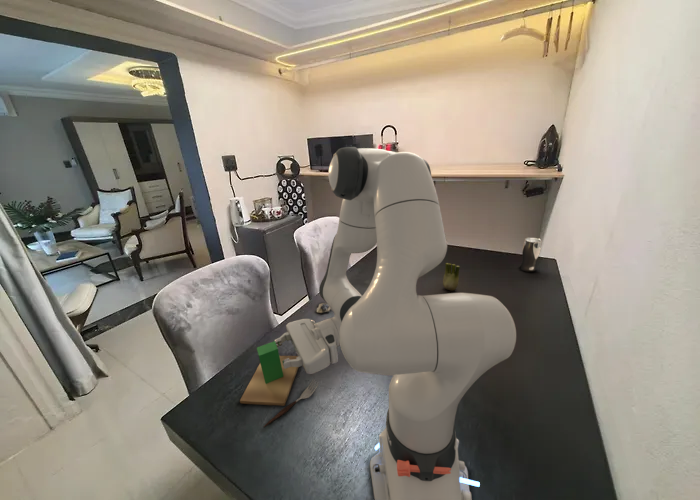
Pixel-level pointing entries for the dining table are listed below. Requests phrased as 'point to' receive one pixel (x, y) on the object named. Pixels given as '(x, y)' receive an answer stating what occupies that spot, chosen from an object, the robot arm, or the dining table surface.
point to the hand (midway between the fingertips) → (278, 353)
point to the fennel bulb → (451, 277)
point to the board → (270, 387)
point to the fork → (305, 394)
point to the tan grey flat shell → (323, 308)
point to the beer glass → (530, 253)
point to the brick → (270, 362)
